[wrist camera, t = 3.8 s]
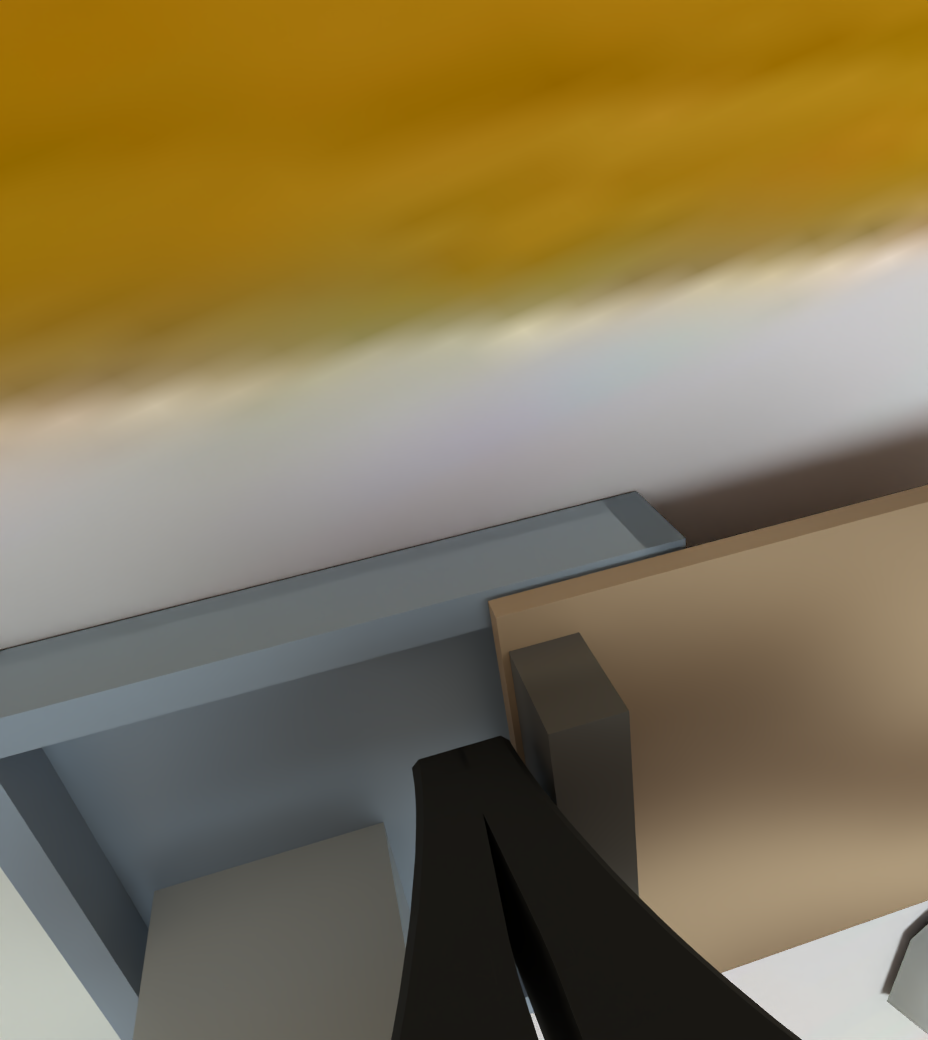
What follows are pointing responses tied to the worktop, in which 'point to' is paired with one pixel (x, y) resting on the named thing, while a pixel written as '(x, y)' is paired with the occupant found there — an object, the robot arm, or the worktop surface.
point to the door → (740, 723)
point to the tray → (247, 740)
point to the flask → (913, 982)
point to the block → (280, 947)
